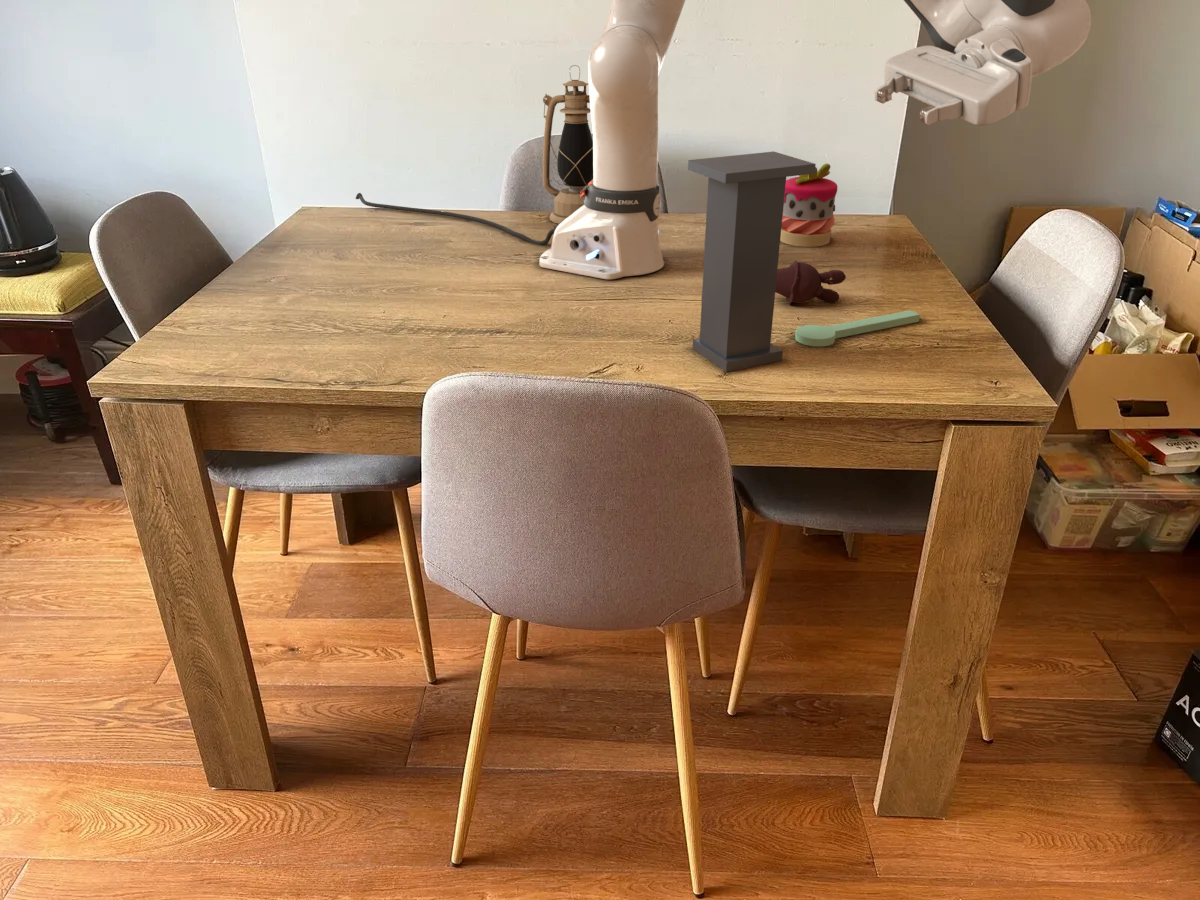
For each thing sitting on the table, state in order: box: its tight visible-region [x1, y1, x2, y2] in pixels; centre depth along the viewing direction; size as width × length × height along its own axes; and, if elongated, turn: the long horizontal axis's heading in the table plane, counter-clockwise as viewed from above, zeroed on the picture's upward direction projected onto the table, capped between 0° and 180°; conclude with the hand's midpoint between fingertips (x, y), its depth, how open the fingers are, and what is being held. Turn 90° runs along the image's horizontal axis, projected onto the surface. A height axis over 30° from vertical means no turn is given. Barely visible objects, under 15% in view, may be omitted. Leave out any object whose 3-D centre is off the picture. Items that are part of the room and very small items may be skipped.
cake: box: [780, 162, 839, 248], centre depth 169 cm, size 10×11×15 cm
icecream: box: [775, 259, 847, 305], centre depth 140 cm, size 7×7×15 cm
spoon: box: [794, 309, 921, 348], centre depth 130 cm, size 21×6×1 cm, turn 115°
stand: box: [687, 150, 817, 373], centre depth 116 cm, size 13×9×26 cm
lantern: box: [542, 64, 593, 224], centre depth 181 cm, size 14×12×30 cm
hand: (899, 107), depth 119 cm, fingers open, 8 cm apart
